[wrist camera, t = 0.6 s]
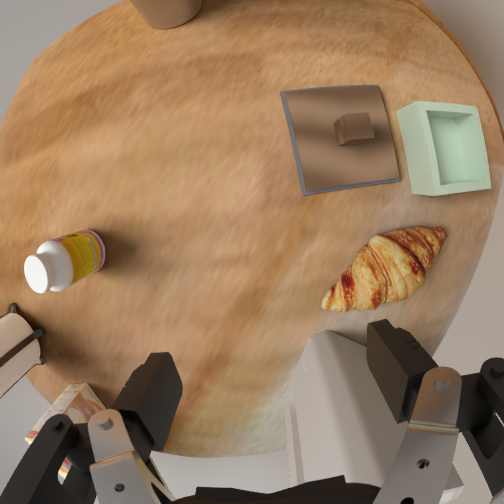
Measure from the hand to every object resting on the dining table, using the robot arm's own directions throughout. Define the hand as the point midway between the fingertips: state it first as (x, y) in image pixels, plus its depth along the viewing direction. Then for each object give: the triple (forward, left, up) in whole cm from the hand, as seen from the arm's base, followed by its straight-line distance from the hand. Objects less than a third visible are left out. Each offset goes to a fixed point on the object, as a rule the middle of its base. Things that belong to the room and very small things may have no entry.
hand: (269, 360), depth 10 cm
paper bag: (+22, +7, -26) cm, 35 cm away
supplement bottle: (-4, -26, -26) cm, 37 cm away
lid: (-12, +13, -26) cm, 31 cm away
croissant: (+7, +16, -27) cm, 32 cm away
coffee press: (+9, -54, -26) cm, 61 cm away
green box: (-9, +28, -26) cm, 39 cm away
